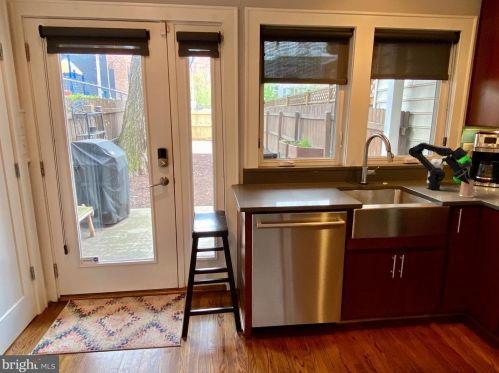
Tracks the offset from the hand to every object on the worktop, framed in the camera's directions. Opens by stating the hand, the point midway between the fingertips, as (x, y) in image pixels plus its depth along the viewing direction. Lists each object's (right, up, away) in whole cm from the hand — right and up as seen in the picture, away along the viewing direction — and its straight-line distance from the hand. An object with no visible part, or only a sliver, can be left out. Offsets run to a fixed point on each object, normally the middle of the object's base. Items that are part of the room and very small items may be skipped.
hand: (470, 182), depth 214 cm
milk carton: (-2, 0, +39) cm, 39 cm away
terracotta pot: (-1, -8, +3) cm, 8 cm away
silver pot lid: (-1, -9, +3) cm, 9 cm away
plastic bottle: (+21, 0, +43) cm, 48 cm away
